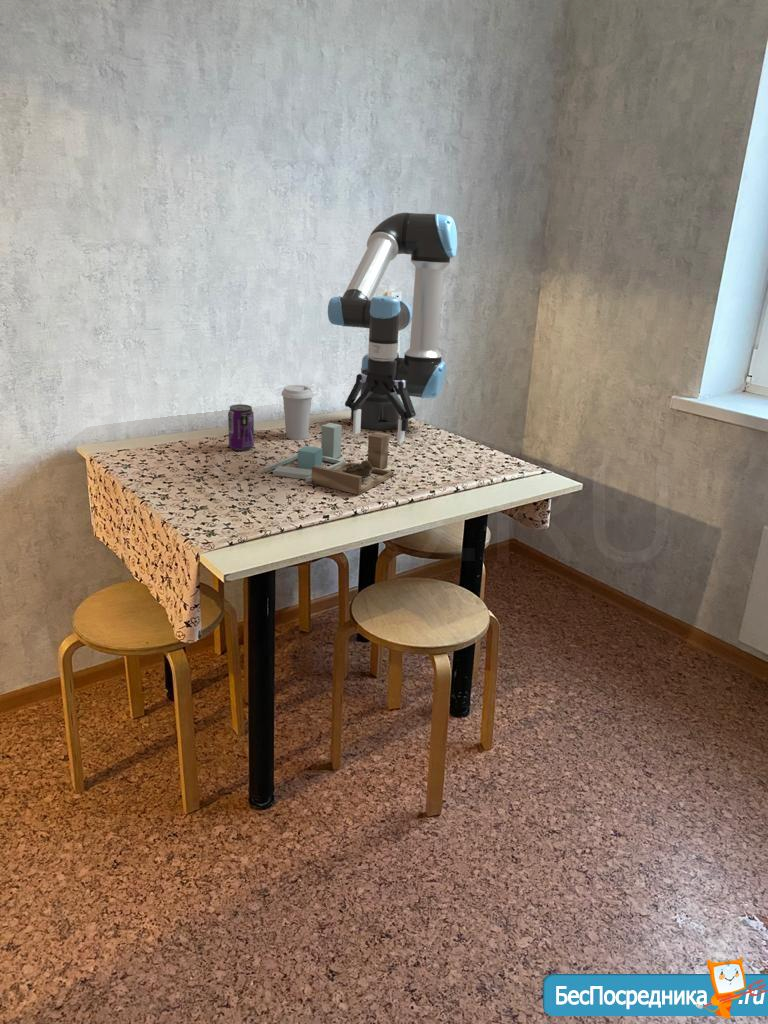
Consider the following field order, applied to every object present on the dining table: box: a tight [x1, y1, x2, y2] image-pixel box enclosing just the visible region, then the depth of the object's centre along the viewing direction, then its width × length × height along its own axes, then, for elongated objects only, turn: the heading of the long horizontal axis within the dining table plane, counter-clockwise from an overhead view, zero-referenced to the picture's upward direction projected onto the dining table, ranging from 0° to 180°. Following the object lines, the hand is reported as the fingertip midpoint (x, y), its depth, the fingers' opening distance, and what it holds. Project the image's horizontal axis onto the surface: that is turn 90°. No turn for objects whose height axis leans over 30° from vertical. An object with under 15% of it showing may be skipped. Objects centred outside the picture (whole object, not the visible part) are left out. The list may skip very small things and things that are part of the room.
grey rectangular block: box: [272, 465, 312, 480], centre depth 202 cm, size 4×10×1 cm, turn 76°
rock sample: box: [340, 459, 374, 481], centre depth 200 cm, size 10×8×9 cm
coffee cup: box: [281, 384, 315, 441], centre depth 231 cm, size 10×10×15 cm
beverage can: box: [227, 403, 255, 451], centre depth 219 cm, size 7×7×12 cm
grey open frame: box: [263, 422, 347, 483], centre depth 207 cm, size 24×14×9 cm, turn 151°
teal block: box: [297, 445, 323, 470], centre depth 208 cm, size 5×5×5 cm
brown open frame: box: [311, 431, 395, 496], centre depth 201 cm, size 24×14×9 cm, turn 151°
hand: (378, 438), depth 207 cm, fingers open, 13 cm apart
